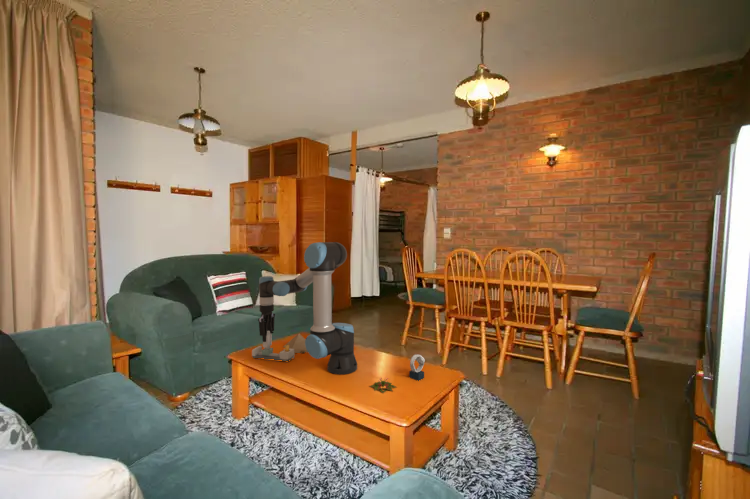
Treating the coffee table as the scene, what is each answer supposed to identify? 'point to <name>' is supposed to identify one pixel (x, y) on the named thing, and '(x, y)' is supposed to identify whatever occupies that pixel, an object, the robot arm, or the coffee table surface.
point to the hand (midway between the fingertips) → (267, 346)
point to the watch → (417, 373)
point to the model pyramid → (297, 344)
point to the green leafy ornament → (383, 383)
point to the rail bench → (273, 354)
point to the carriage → (267, 350)
